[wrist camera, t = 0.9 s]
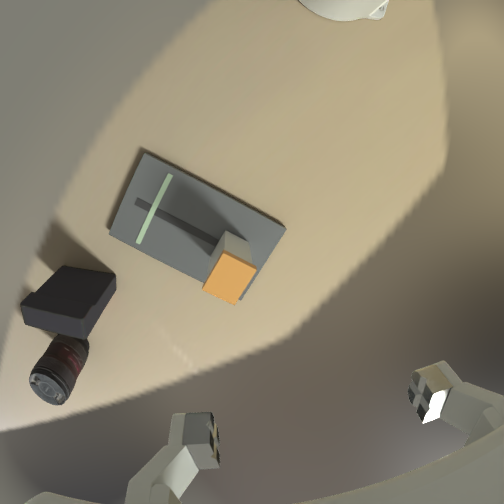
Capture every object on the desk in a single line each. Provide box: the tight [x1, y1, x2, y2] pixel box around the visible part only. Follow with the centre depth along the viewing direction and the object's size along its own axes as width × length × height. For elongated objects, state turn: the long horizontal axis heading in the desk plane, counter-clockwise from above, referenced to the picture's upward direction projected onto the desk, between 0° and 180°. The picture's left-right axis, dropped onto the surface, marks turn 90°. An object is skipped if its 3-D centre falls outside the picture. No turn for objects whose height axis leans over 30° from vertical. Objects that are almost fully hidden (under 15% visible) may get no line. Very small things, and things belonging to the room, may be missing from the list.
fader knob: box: [202, 230, 257, 305], centre depth 43 cm, size 6×5×10 cm
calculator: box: [20, 266, 116, 339], centre depth 43 cm, size 11×4×15 cm, turn 81°
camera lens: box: [29, 334, 89, 405], centre depth 48 cm, size 8×8×15 cm
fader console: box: [109, 153, 286, 300], centre depth 47 cm, size 14×24×1 cm, turn 60°
